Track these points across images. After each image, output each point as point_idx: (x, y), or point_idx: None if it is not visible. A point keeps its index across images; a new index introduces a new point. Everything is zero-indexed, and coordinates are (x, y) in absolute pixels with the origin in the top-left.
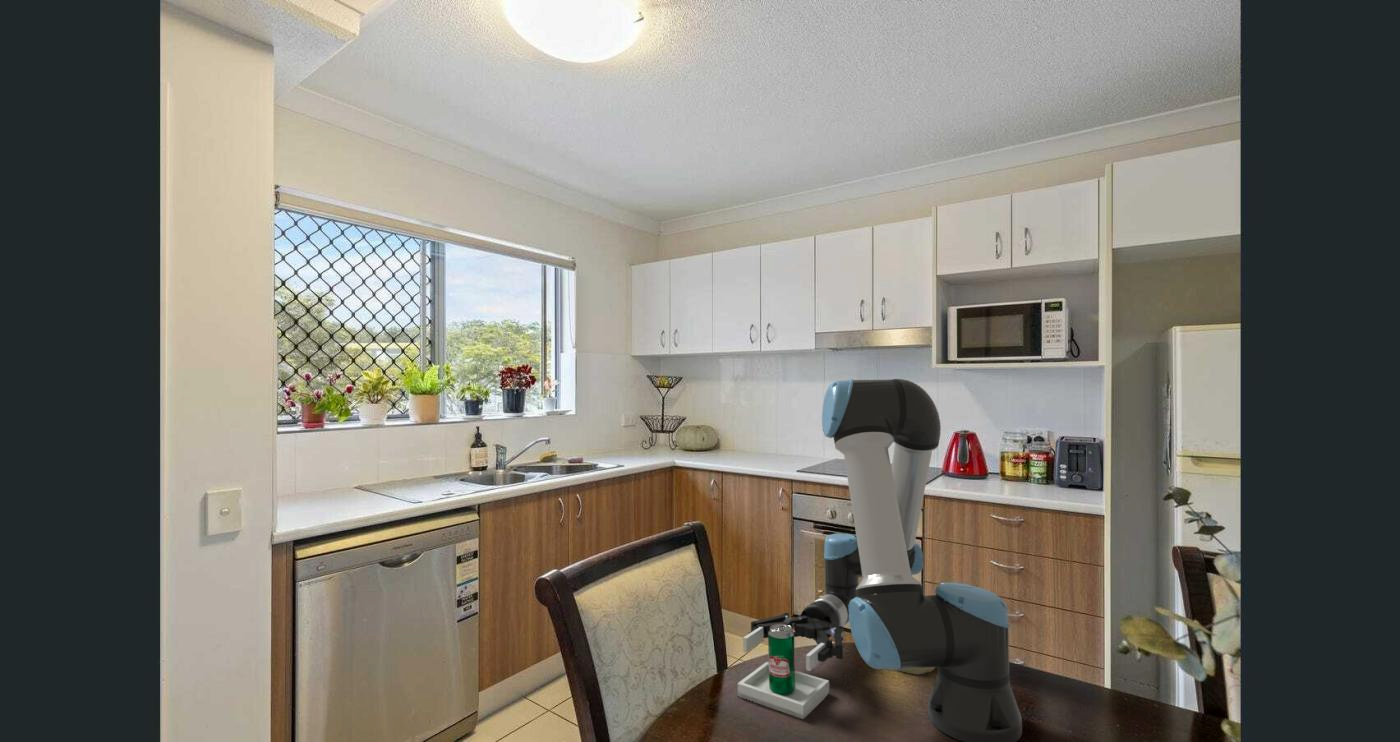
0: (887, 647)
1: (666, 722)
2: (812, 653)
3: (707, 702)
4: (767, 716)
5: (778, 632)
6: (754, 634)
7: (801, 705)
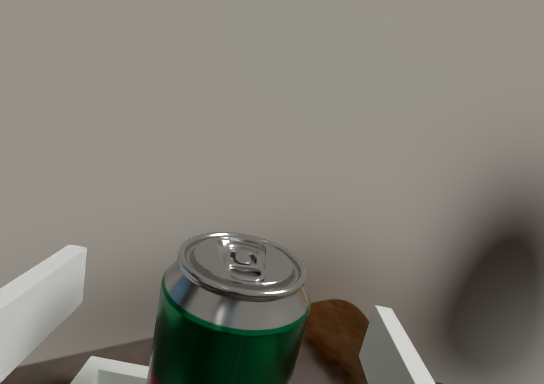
0: None
1: (356, 310)
2: (51, 256)
3: (360, 380)
4: None
5: (235, 233)
6: (398, 360)
7: (96, 359)
